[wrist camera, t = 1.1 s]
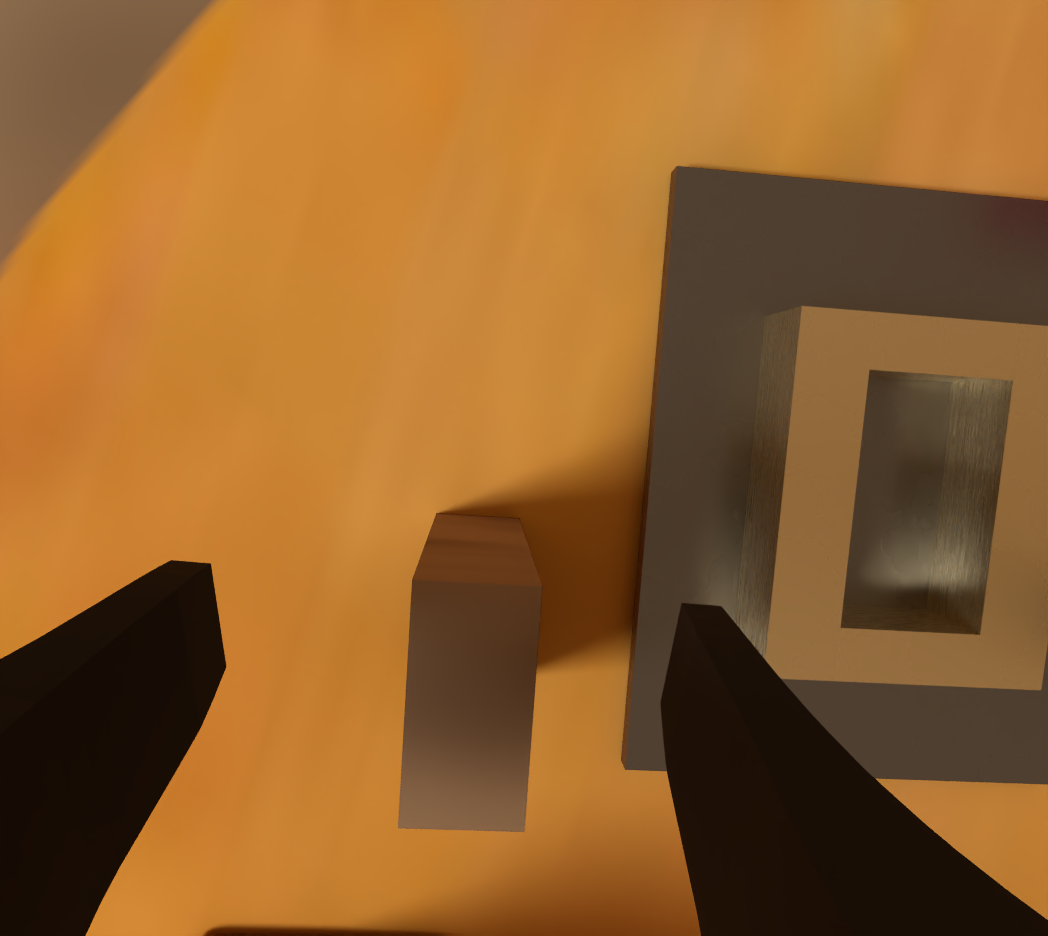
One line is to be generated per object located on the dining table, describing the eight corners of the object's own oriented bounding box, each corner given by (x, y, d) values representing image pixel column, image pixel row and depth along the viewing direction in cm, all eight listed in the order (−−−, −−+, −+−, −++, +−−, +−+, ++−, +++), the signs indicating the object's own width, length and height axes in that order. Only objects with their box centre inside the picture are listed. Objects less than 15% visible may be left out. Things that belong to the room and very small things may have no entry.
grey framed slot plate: (1040, 774, 24) (1121, 829, 21) (621, 759, 23) (642, 814, 20) (1119, 214, 22) (1218, 185, 19) (671, 172, 21) (702, 135, 18)
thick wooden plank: (508, 677, 22) (524, 832, 14) (426, 674, 22) (398, 827, 14) (519, 518, 22) (542, 586, 14) (436, 513, 22) (412, 579, 14)
